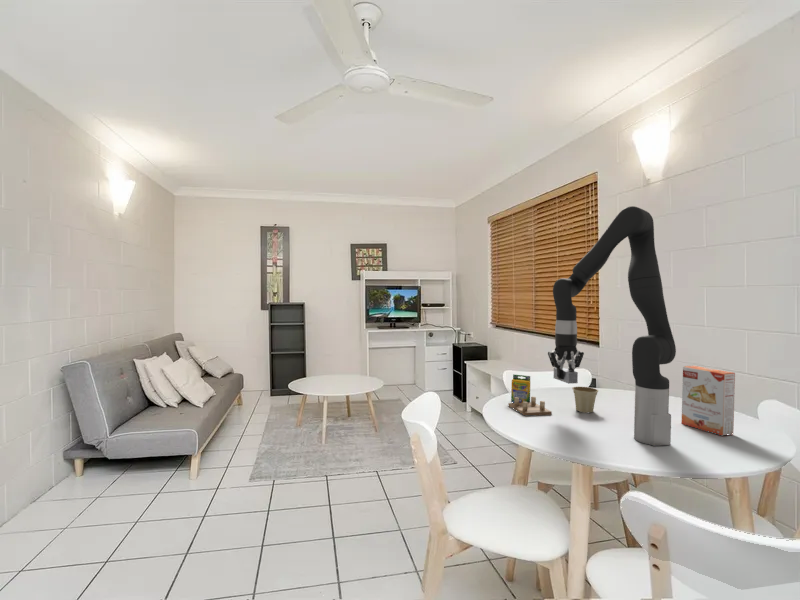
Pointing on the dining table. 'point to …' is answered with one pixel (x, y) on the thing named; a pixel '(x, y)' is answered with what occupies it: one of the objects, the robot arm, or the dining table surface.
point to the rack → (530, 407)
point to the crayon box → (520, 388)
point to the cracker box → (708, 399)
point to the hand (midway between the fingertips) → (565, 378)
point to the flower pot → (585, 398)
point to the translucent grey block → (567, 376)
